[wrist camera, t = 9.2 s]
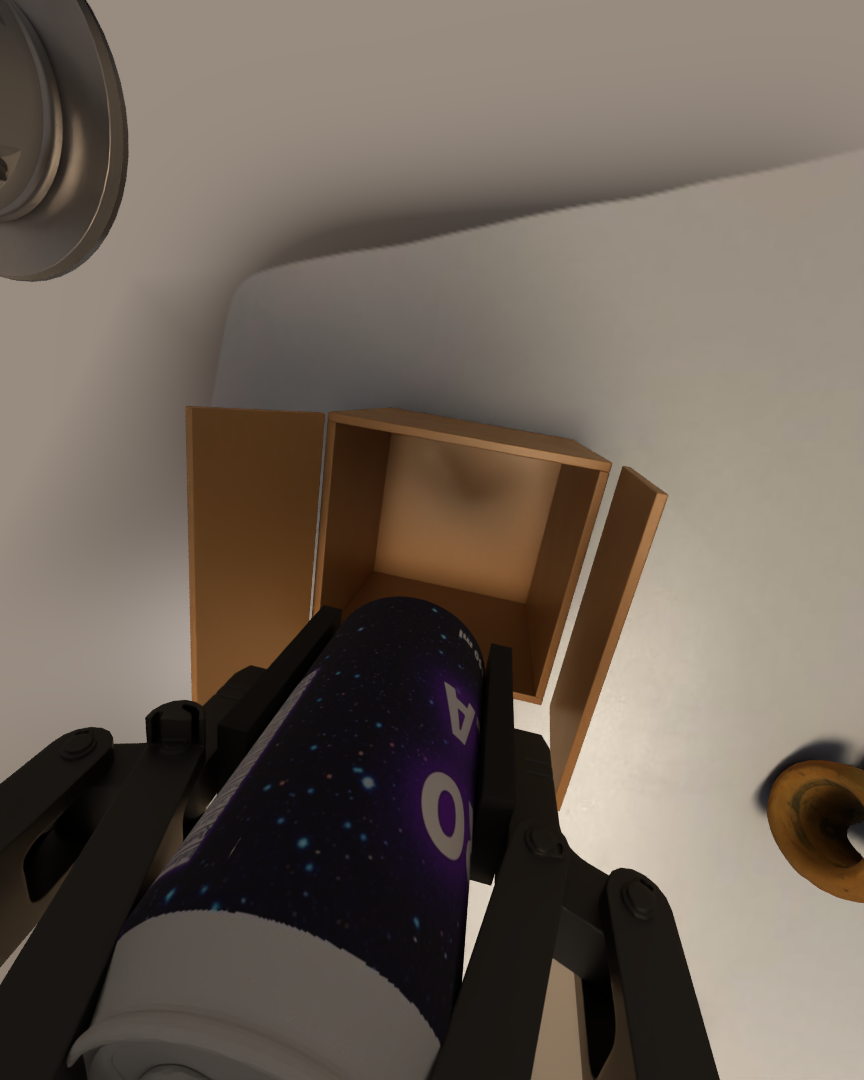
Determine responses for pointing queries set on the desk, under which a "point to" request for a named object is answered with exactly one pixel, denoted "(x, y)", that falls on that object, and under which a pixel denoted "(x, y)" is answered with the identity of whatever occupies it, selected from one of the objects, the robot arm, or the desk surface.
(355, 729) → the beverage can
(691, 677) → the desk surface
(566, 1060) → the tall recessed triangular prism
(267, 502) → the flap
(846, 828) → the brown looped sculpture
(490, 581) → the carton
